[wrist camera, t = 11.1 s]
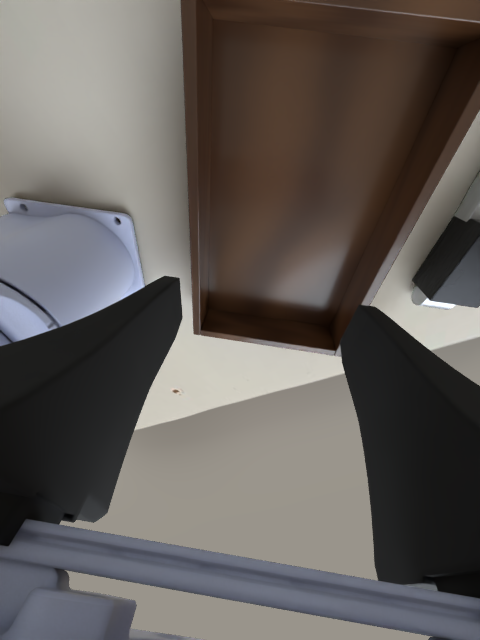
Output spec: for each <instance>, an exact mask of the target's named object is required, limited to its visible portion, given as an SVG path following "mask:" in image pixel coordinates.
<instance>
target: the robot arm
mask: <svg viewBox="0 0 480 640" xmlns="http://www.w3.org/2000/svg"><path fill="white" fill-rule="evenodd" d="M4 204H5V206H6V208H7V210H8V212H9V214H6V215H3V216H0V640H204V639H197V638H191V637H184V636H177V635H171V634H163V633H157V632H150V631H143V630H137V629H130V627H131V623H132V620H133V617H134V613H135V610H136V606H137V605H136V602H135V601H134V600H130V599H125V598H121V597H116V596H111V595H106V594H101V593H94V592H87V591H79V590H71V589H70V587H69V575H68V573H67V572H66V571H65V570H68V571H73V572H78V573H84V574H89V575H95V576H100V577H106V578H111V579H117V580H123V581H128V582H134V583H140V584H145V585H150V586H156V587H161V588H167V589H172V590H178V591H183V592H189V593H194V594H200V595H206V596H212V597H217V598H222V599H228V600H233V601H239V602H244V603H250V604H256V605H261V606H266V607H272V608H277V609H283V610H289V611H295V612H300V613H306V614H311V615H316V616H322V617H327V618H333V619H338V620H344V621H350V622H355V623H361V624H367V625H372V626H377V627H383V628H388V629H394V630H400V631H405V632H410V633H416V634H421V635H427V636H433V637H430V638H429V639H428V640H480V386H479V385H477V384H476V383H474V382H473V381H471V380H470V379H468V378H467V377H465V376H464V375H462V374H461V373H460V372H458V371H457V370H455V369H454V368H452V367H451V366H450V365H448V364H447V363H446V362H444V361H443V360H442V359H440V358H439V357H437V356H436V355H435V354H434V353H432V352H431V351H430V350H429V349H427V348H426V347H425V346H423V345H422V344H421V343H420V342H419V341H417V340H416V339H415V338H414V337H412V336H411V335H410V334H409V333H408V332H406V331H405V330H404V329H403V328H401V327H400V326H399V325H398V324H397V323H395V322H394V321H393V320H392V319H391V318H389V317H388V316H387V315H385V314H384V313H383V312H382V311H380V310H379V309H377V308H376V307H373V306H366V305H358V307H357V309H356V311H355V313H354V315H353V317H352V319H351V321H350V322H349V324H348V326H347V328H346V330H345V332H344V334H343V336H342V338H341V340H340V349H341V357H342V363H343V367H344V371H345V375H346V378H347V382H348V385H349V389H350V392H351V396H352V399H353V402H354V406H355V410H356V413H357V417H358V421H359V426H360V431H361V437H362V443H363V449H364V455H365V463H366V470H367V477H368V486H369V495H370V504H371V514H372V528H373V542H374V561H375V568H376V572H377V577H378V581H376V580H371V579H365V578H360V577H354V576H348V575H342V574H336V573H331V572H325V571H320V570H314V569H308V568H303V567H297V566H291V565H286V564H280V563H274V562H269V561H263V560H256V559H251V558H245V557H240V556H234V555H228V554H223V553H217V552H211V551H205V550H200V549H194V548H189V547H183V546H177V545H172V544H166V543H160V542H155V541H149V540H143V539H138V538H132V537H126V536H121V535H115V534H109V533H103V532H98V531H92V530H86V529H80V528H75V527H69V526H64V525H59V524H60V522H61V520H63V521H69V522H75V521H76V520H82V521H88V522H93V523H94V522H96V521H97V520H99V519H100V518H102V517H103V516H104V515H105V514H106V513H107V512H108V509H109V505H110V502H111V499H112V496H113V492H114V489H115V486H116V483H117V479H118V476H119V473H120V469H121V467H122V464H123V461H124V457H125V455H126V451H127V449H128V446H129V443H130V440H131V437H132V434H133V432H134V429H135V426H136V423H137V421H138V418H139V415H140V412H141V410H142V407H143V405H144V402H145V399H146V397H147V394H148V392H149V389H150V387H151V385H152V383H153V381H154V379H155V377H156V375H157V373H158V371H159V369H160V367H161V365H162V363H163V361H164V359H165V357H166V356H167V354H168V352H169V350H170V348H171V346H172V344H173V342H174V340H175V338H176V335H177V332H178V329H179V326H180V323H181V320H182V305H181V291H180V278H176V277H169V276H163V277H161V278H159V279H157V280H156V281H154V282H152V283H150V284H148V285H147V286H145V284H144V279H143V273H142V268H141V263H140V257H139V252H138V247H137V241H136V236H135V231H134V225H133V221H132V218H131V217H130V216H129V215H128V214H125V213H119V212H111V211H104V210H97V209H90V208H83V207H76V206H69V205H62V204H55V203H47V202H40V201H33V200H26V199H19V198H12V197H10V198H6V199H5V200H4ZM25 206H26V207H27V208H28V209H27V208H26V207H25ZM116 217H117V218H119V219H120V221H121V223H119V222H118V221H117V219H116Z"/></svg>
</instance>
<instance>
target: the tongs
mask: <svg viewBox="0 0 480 640" xmlns="http://www.w3.org/2000/svg"><path fill="white" fill-rule="evenodd" d="M412 281H413V282H414V283H415V284H416V286H415V287H414V289H413V291H412V295H411V299H412V302H413V303H414V304H415V305H419V306H425V307H432V308H439V309H451V308H453V307H454V306H455V305H461V306H468V307H475V308H478V307H479V306H480V171H479V173H478V175H477V177H476V178H475V180H474V182H473V184H472V185H471V187H470V189H469V191H468V192H467V194H466V196H465V197H464V199H463V201H462V203H461V204H460V206H459V208H458V210H457V211H456V213H455V215H454V217H453V218H452V220H451V221H450V223H449V224H448V226H447V227H446V229H445V231H444V232H443V234H442V235H441V237H440V238H439V240H438V241H437V243H436V244H435V246H434V247H433V249H432V250H431V252H430V254H429V255H428V257H427V258H426V260H425V261H424V263H423V264H422V266H421V267H420V269H419V270H418V272H417V274H416V275H415V277H414V278H413V280H412Z"/></svg>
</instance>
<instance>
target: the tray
mask: <svg viewBox="0 0 480 640" xmlns="http://www.w3.org/2000/svg"><path fill="white" fill-rule="evenodd" d="M181 21H182V47H183V72H184V98H185V124H186V150H187V176H188V202H189V228H190V253H191V279H192V305H193V331H194V334H196V335H202V336H209V337H215V338H222V339H228V340H235V341H242V342H248V343H255V344H261V345H268V346H274V347H281V348H287V349H294V350H301V351H307V352H314V353H320V354H327V355H334V356H341V349H340V340H341V338H342V336H343V334H344V332H345V330H346V328H347V326H348V324H349V322H350V321H351V319H352V317H353V315H354V313H355V311H356V309H357V307H358V305H366V306H369V305H370V304H371V302H372V300H373V298H374V297H375V295H376V293H377V291H378V289H379V288H380V286H381V284H382V282H383V281H384V279H385V277H386V275H387V273H388V272H389V270H390V268H391V266H392V265H393V263H394V261H395V259H396V257H397V256H398V254H399V252H400V250H401V249H402V247H403V245H404V243H405V241H406V240H407V238H408V236H409V234H410V233H411V231H412V229H413V227H414V225H415V224H416V222H417V220H418V218H419V217H420V215H421V213H422V211H423V209H424V208H425V206H426V204H427V202H428V201H429V199H430V197H431V195H432V193H433V192H434V190H435V188H436V186H437V185H438V183H439V181H440V179H441V177H442V176H443V174H444V172H445V170H446V169H447V167H448V165H449V163H450V161H451V160H452V158H453V156H454V154H455V153H456V151H457V149H458V147H459V145H460V144H461V142H462V140H463V138H464V137H465V135H466V133H467V131H468V129H469V128H470V126H471V124H472V122H473V121H474V119H475V117H476V115H477V113H478V112H479V110H480V0H181Z"/></svg>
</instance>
